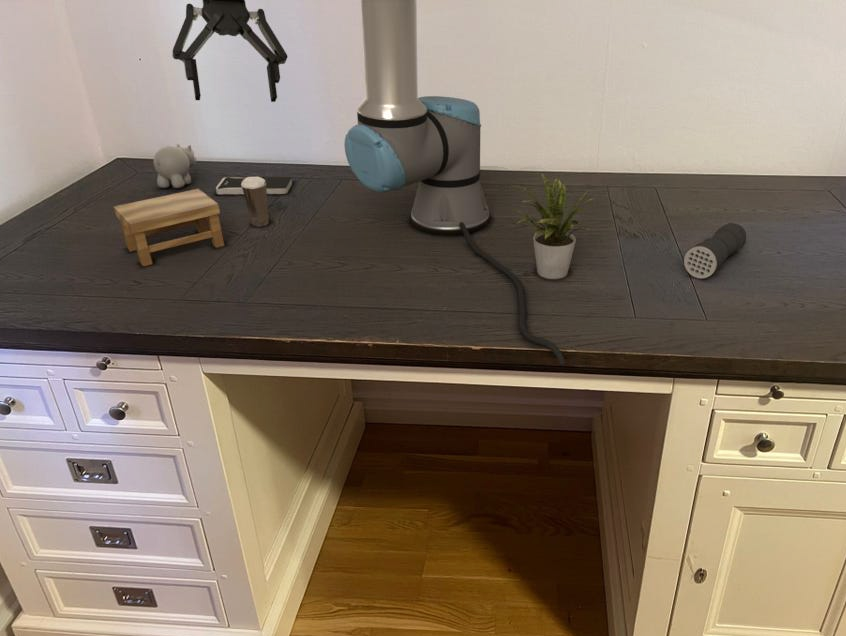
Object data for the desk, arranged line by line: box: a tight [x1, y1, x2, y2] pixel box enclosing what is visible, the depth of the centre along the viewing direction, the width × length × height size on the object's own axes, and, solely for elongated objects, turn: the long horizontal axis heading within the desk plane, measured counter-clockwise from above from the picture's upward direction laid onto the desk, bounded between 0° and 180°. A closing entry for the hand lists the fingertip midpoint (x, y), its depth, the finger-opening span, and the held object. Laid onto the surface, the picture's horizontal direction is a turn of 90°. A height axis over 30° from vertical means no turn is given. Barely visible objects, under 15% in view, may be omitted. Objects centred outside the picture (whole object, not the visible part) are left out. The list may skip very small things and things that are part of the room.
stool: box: [113, 188, 225, 267], centre depth 128 cm, size 10×15×8 cm, turn 128°
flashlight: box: [683, 222, 747, 279], centre depth 124 cm, size 15×5×5 cm, turn 142°
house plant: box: [512, 172, 595, 280], centre depth 118 cm, size 14×14×16 cm
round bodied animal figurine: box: [153, 143, 197, 189], centre depth 158 cm, size 7×12×8 cm, turn 165°
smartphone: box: [215, 176, 293, 195], centre depth 156 cm, size 8×1×15 cm
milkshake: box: [241, 173, 270, 228], centre depth 137 cm, size 4×5×10 cm
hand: (236, 99), depth 133 cm, fingers open, 13 cm apart
